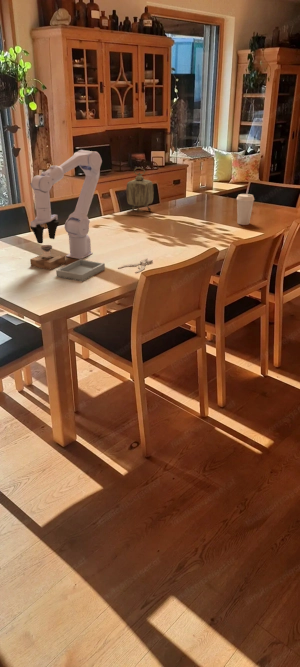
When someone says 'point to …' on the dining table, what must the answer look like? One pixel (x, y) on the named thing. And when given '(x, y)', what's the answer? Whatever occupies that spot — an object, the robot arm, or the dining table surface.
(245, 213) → the coffee cup
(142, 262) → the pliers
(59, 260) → the brown square frame
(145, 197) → the tabletop clock
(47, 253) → the pin
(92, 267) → the tray
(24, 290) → the dining table surface
